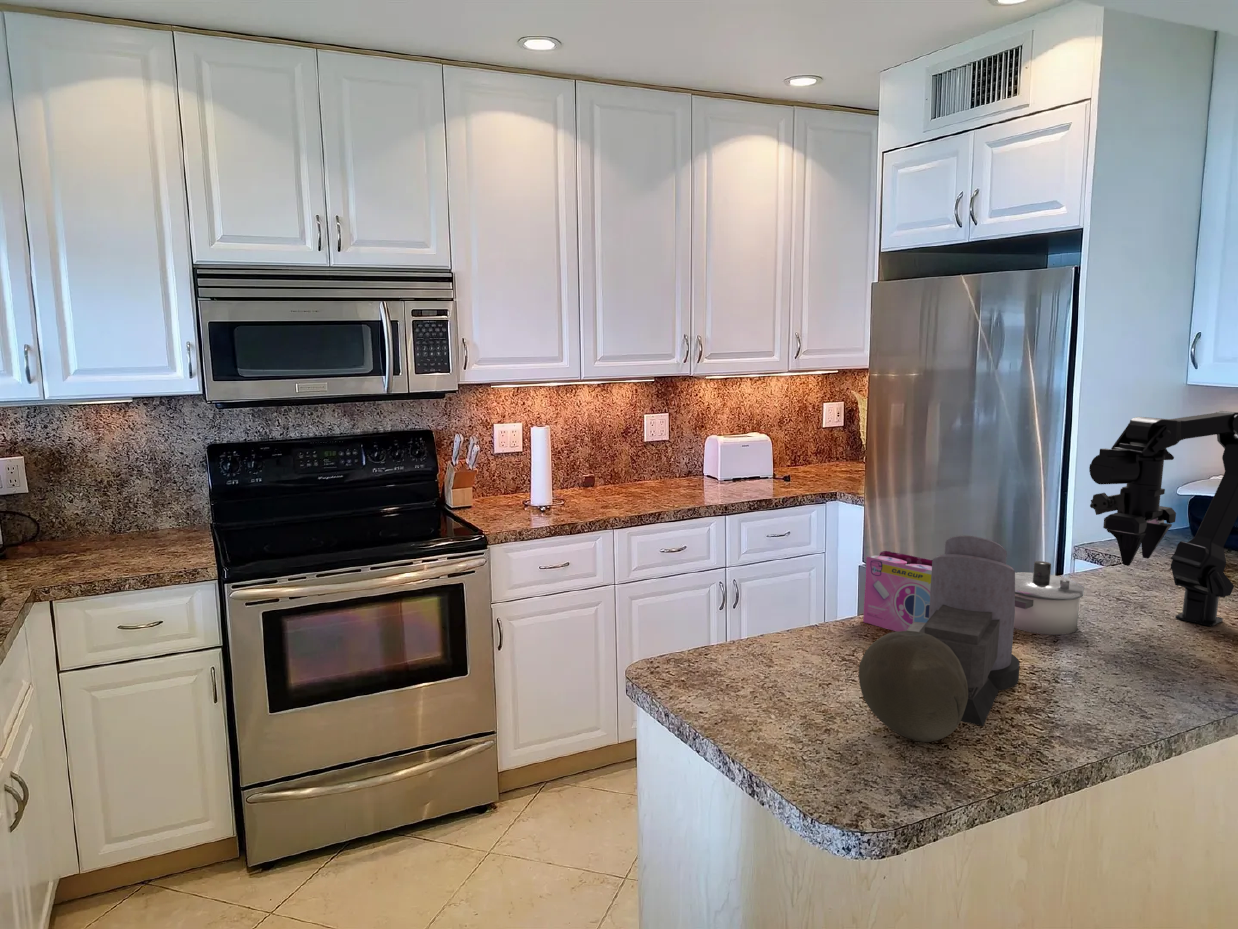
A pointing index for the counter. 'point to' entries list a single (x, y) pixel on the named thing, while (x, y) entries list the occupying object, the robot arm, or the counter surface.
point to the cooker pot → (1046, 615)
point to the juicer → (975, 618)
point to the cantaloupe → (914, 685)
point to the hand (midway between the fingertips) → (1136, 561)
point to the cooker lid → (1046, 584)
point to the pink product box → (897, 590)
